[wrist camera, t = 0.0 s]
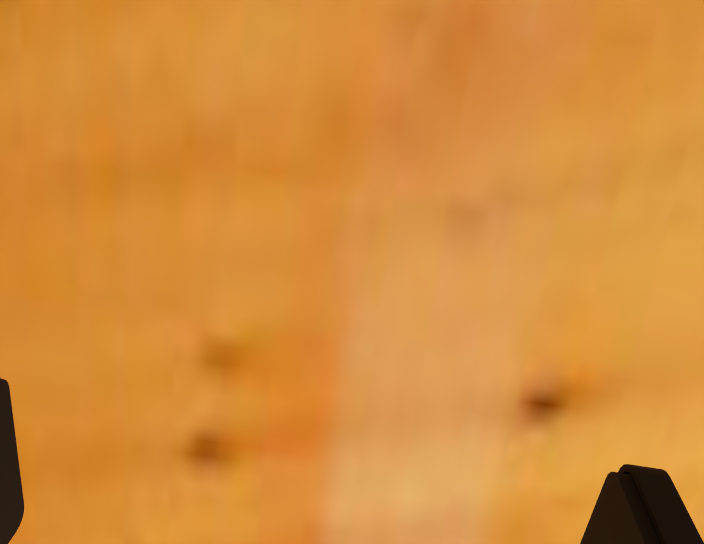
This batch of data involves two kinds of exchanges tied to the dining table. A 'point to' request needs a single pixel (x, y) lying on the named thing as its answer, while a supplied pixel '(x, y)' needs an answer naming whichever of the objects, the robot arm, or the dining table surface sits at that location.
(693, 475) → the dining table surface
